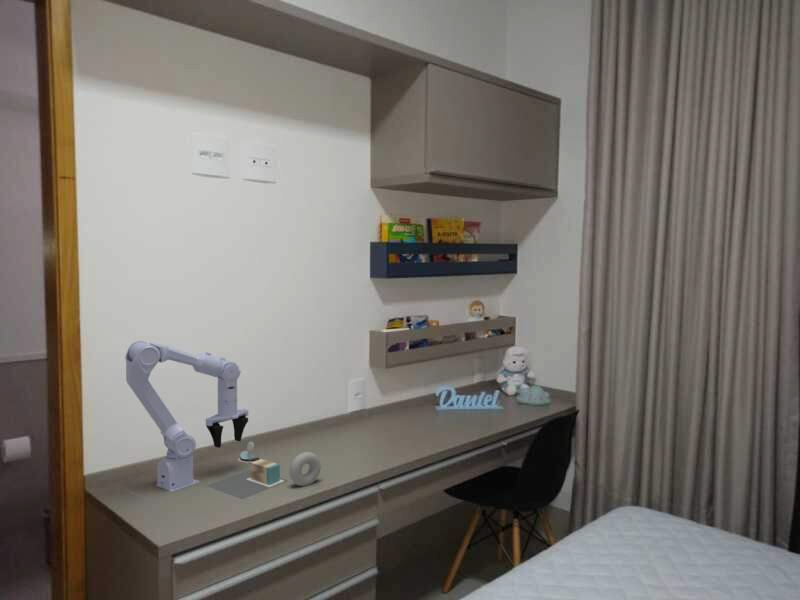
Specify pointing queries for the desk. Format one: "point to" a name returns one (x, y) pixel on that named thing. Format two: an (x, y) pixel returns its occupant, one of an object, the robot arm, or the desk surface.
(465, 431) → the desk surface
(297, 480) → the donut
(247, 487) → the mat
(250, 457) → the pacifier
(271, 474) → the card box
